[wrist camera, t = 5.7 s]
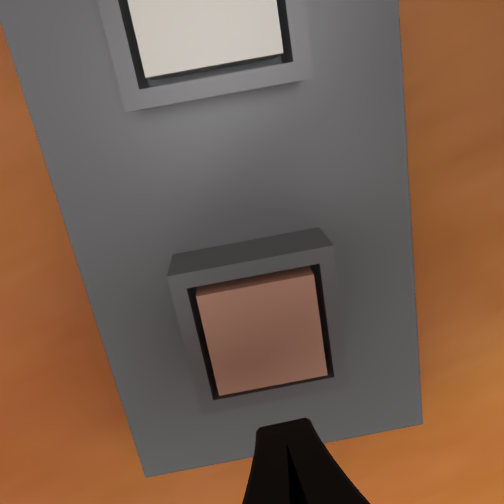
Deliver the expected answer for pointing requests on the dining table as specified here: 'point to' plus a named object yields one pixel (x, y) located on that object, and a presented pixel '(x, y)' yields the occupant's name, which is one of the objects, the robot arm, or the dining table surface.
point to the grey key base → (232, 212)
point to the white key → (204, 34)
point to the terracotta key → (263, 330)
